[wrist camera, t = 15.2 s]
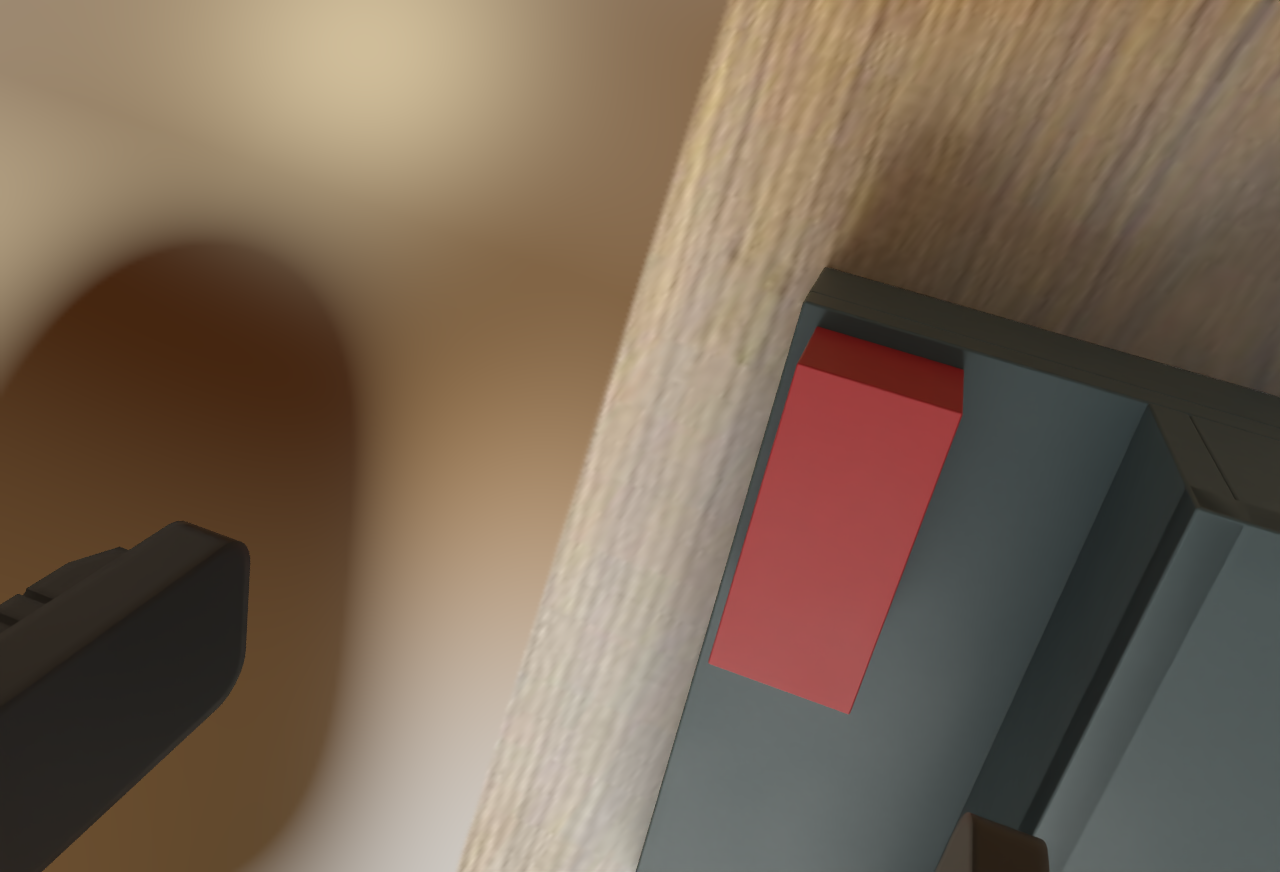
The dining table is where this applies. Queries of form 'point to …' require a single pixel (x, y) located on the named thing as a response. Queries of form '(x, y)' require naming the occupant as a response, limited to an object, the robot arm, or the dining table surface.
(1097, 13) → the dining table surface
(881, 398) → the red rectangular block
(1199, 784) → the shelf
